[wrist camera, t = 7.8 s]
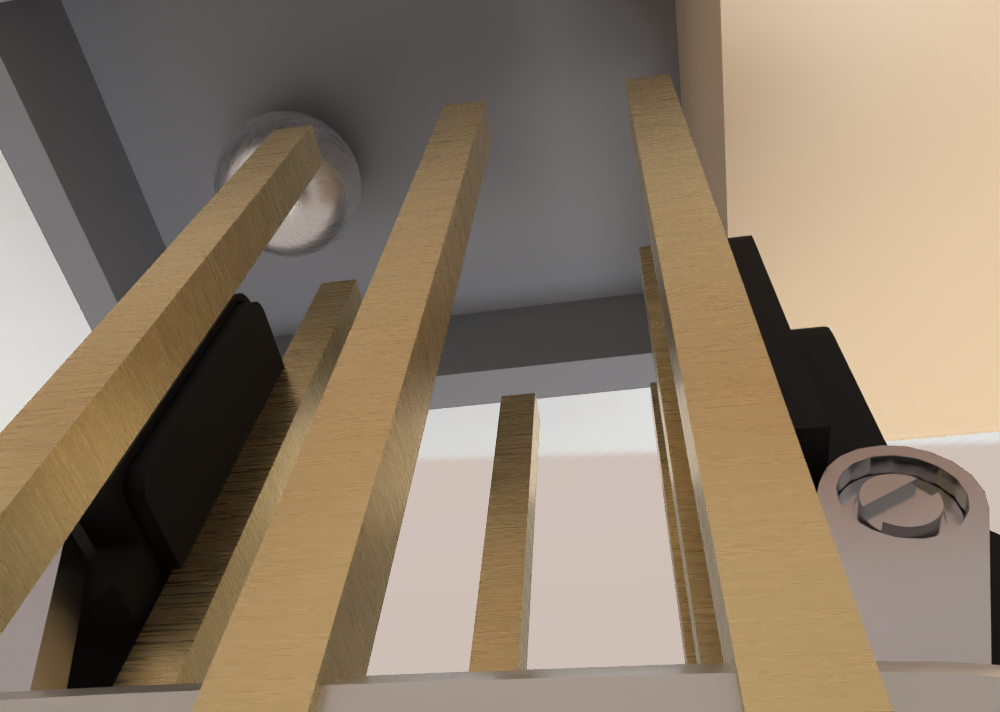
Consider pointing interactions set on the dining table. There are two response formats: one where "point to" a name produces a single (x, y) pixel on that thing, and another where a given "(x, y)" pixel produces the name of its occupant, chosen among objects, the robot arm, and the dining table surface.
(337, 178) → the ball
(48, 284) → the dining table surface
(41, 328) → the dining table surface
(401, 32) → the shaker tray
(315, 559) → the tan slotted block
